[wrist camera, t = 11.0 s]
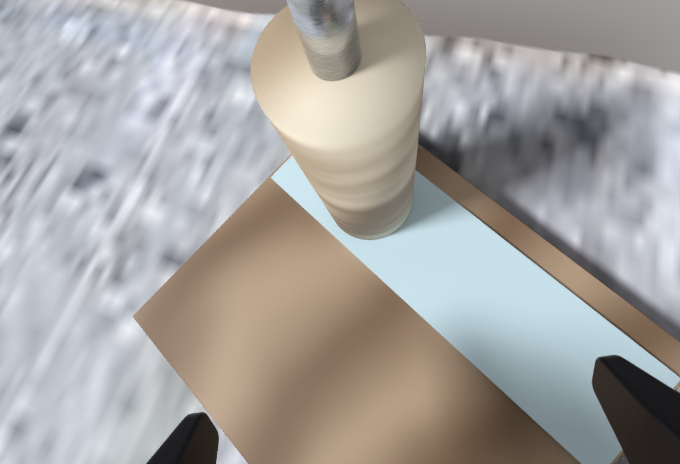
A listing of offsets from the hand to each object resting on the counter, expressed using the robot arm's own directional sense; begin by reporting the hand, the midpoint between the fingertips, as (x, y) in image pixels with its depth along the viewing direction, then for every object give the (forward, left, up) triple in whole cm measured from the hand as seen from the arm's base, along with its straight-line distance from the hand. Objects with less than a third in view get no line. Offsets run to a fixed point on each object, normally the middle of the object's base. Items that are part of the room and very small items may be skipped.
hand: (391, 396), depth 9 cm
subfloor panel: (+1, 0, -9) cm, 10 cm away
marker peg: (+6, -5, -8) cm, 11 cm away
